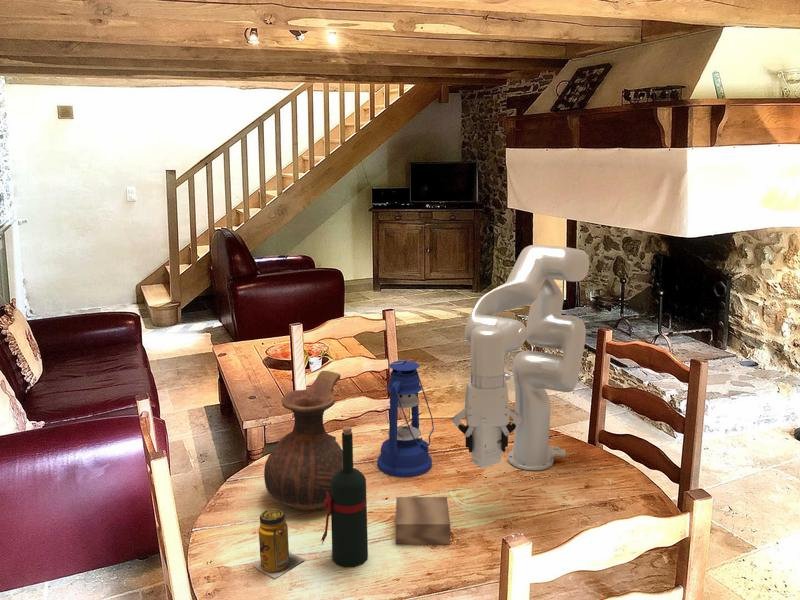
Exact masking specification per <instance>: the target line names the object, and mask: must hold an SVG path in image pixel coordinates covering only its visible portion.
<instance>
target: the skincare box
mask: <svg viewBox="0 0 800 600" xmlns="http://www.w3.org/2000/svg"><path fill="white" fill-rule="evenodd" d="M502 452H503V451H502V429H501V427H490V426H489V421H488V419H480V423H479V427H475V428H474V430H473V431H472V452H471V463H473V464H474V465H476V466H477V467H478V468H481V469H485V468H488V467H490V466H493V465H497V464H499V463H501V462H502Z"/></svg>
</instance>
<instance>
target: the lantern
mask: <svg viewBox="0 0 800 600" xmlns="http://www.w3.org/2000/svg"><path fill="white" fill-rule="evenodd" d="M388 367H389V368H390V369H391V370H392V371H391V372H389V379H388V386H386V390H387V391H388V392H389V393H390V398H389V405H388V406H387V407H386V408H385V412H384V414H385V418H386V419H387V422H388V423H389V424H388V425H389V428H388V429H389V430H388V431H387V436H388V438H387V439H386V440H384V441H383V442H382V444H381V446H380V455H379V456H378V457H377V459H376V460H377V461H376V466H377V468H378V470H379V471H380V472H381V473H383V474H385V475H387V476H389V477H390V476H391V477H396V478H414V477H419V476H422V475H424V474H426V473H428V472H429V471H430V470H431V469H432V467H433V459H432V457H431V455H430V453H429V446H430V445H431V435H432V434H433V432H434V430H435V427H434V421H433V420H434V419H433V415H432V413H431V409H430V406H429V403H428V399H427V397H426V394H425V391H424V387H423V385H422V382H421V378H420V376H419V373H418V372H419V371H418V370H417V369H419V368H420V364H419V363H417V362H415V361H411V360H406V359H404V360H401V359H400V360H395V361H394V360H393V362H391V363H390V364H389V365H388ZM421 391H422V393H423V396H424V397H423V398H424V399H425V403H426V406H427V408H428V412H429V415H430V418H431V425H432V430H431V431H430V433H429V436H428V442H427V441H425V440H423V437H422V436H421V435H422V431H421V430H420V415H421V414H423V413H424V411H422V412H419V411H420V409H419V404H420V398H419V392H421ZM399 408H400V409H401V411H402V413H403V414H402V415H403V417H404V419H405V423H402V424H401V425H399V426H398V416H399V415H398V414H399V413H398V411H399ZM407 408H409V409H410V411H411V412H410V411H408V410H407ZM388 409H389V419H388V417H387V410H388ZM405 411H406V412H408V413H409V414H410V415H411V419H409V420H408V419H407V416H406V414H405ZM409 422H410V424H409Z"/></svg>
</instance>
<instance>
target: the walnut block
mask: <svg viewBox="0 0 800 600" xmlns="http://www.w3.org/2000/svg"><path fill="white" fill-rule="evenodd" d="M395 500H396V501H395V545H450V544H451V521H450V512H449V504H448V503H449V502H448V496H397V497H396V499H395Z"/></svg>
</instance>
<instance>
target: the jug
mask: <svg viewBox="0 0 800 600" xmlns="http://www.w3.org/2000/svg"><path fill="white" fill-rule="evenodd" d="M339 380H341V374H340V373H339V372H334V371H330V370H321V371H320V372H319V373H318V374H317V377H316V378H315V380H314V381H313V383H312V384H311V385H310V386H309V388H307V389H297V390H296V389H295V390H291V391H289V392H287V393H286V394H285V395H284V396H283V397H282V400H281V403H282V406H283V408H284V409H286V410H289V411H291V412H292V413H293V415H294V422H293V428H292V431H291V432H289V433H287V434H286V435H284V436H283V437H282V438H281V439H280V440H279V441H278V442H277V443H276V444H275V445H274V446H273V448H272V450H271V451H270V453H269V455H268V457H267V458H266V462H265V465H264V469H263V470H264V471H263V475H264V476H263V477H264V485H265V488H266V491H267V492H268V494H269V495H270V496H271V497H272V498H273V499H274V500H275V501H277V502H278V503H281V504H282V505H285V506H289V507H292V508H294V509H297V510H301V511H315V510H321V509H323V508H325V502H324V500H325V499H326V491H327V492H328V493H330V497H331V479H332V477H333V475H334V474H335V473H336V472H337V471H339V470H340V469H342V468H343V454H342V446H340V444H339V443H338V442H337V438H336V436H334V435H331V434H329V433H327V431H326V429H325V426H324V413H325V411H326V410H327V409H330V408H331V407H333V406H334V405H335V403H336V401H335V400H336V399H335V398H334V395H333V390H334V387H335V385H336V383H337V382H339Z"/></svg>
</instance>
